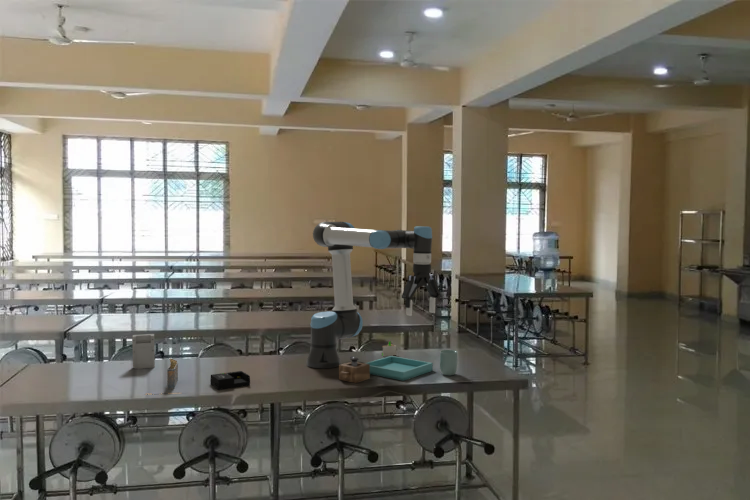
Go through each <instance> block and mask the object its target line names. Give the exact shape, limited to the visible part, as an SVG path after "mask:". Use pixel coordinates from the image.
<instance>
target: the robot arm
mask: <svg viewBox="0 0 750 500" xmlns="http://www.w3.org/2000/svg"><path fill="white" fill-rule="evenodd" d="M312 231H313V232H312V237H313V238H312V239H313V240H314V243H316V244H317V245H318V246H320V247H324V248H327V249H328V250H327V251H328V253H329V254H331V263H332V281H333V297H334V306H333V308H332V309H331V311H330V310H329V311H320V312H319V311H318V312H316V313H314V314H313V315H312V316H311V318H310V324H309V325H310V350H309V352H308V356H307V358H306V366H307V367H308V368H309V367H310V368H314V369H332V368H337V367H338V368H339V365H341V358H340V357H339V355H340V354H339V352H338V349H337V343H338V342H337V340H342V339H346V338H347V339H350V338H352V337H356V336H358V335H359V333H360V332H361V331H362V329H363V325H364V323H363V322H364V321H363V316H361V314H360V313H359V311H358V309H357V306H355V305H354V298H353V297H354V296H353V282H352V281H353V280H352V265H351V264H352V263H351V253H352V251H353V250H354V247H364V248H374V249H377V250H386V249H412V250H413V251H412V252H413V254H412V255H413V256H412V257H413V258H412V262H413V264H412V273H413V275H408V276H407V281H406V284H405V285H404V290H403V292H402V295H401V299H403V300H404V301H405V303H404V304H405V305H404V307H405V308H406V309H405V315H406V316H409V317H412V316H413V300H412V298H413V297H414V295H415V293H416V292H417V290H418V288H420V287H425V289H426V290H427V292H428V293H429V296H430V297H429V308H428V309H429V311H428V312H429V313H431V314H436V305H437V298H439V296H440V295H441V292H440V289H439V286H438V284H437V280H436V274H433V273H432V265H431V263H432V246H433V243H432V242H433V229H432V227H431V226H423V225H422V226H421V225H419V226H417V225H416V226H414V227H413V230H403V229H395V230H390V229H389V230H387V229H385V230H384V229H369V228H356V227H355V226H354V225H353V224H352V223H350V222H346V221H323V222H319V223H318V224H316V225H315V227H314V229H313V230H312ZM431 273H432V274H431Z"/></svg>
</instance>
